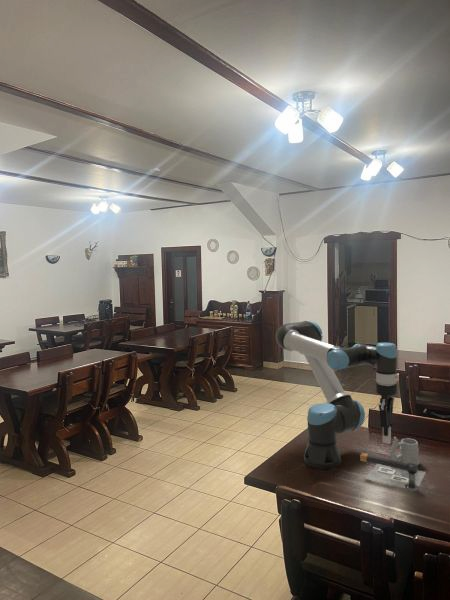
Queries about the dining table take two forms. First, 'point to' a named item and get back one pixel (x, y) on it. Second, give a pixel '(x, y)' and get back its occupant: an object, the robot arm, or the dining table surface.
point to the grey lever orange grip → (389, 463)
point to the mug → (405, 451)
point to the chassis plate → (386, 477)
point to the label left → (386, 471)
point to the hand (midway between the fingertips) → (386, 442)
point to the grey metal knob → (412, 483)
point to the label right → (400, 479)
